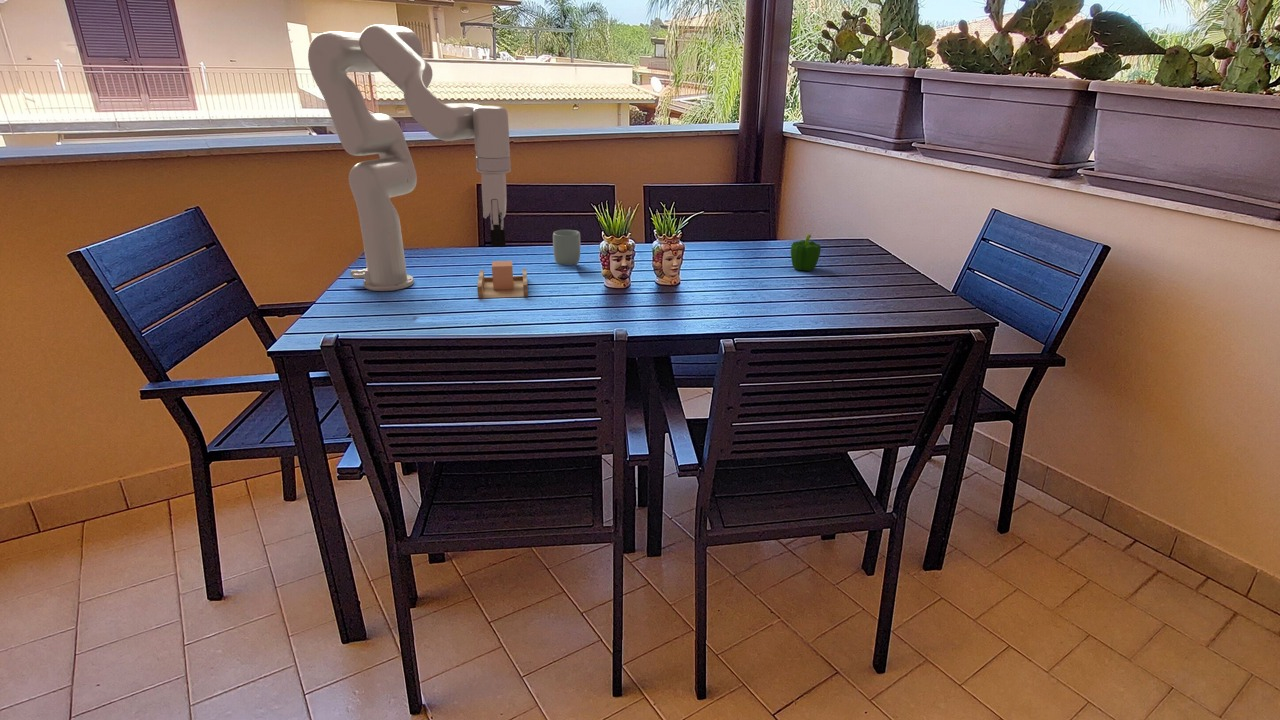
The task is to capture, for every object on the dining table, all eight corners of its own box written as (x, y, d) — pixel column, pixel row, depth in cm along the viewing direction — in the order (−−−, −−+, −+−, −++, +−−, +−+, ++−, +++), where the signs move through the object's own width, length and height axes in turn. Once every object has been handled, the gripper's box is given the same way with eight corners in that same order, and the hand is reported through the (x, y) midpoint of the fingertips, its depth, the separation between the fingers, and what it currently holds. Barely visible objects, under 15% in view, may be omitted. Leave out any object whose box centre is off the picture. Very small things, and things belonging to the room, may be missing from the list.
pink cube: (493, 289, 166) (491, 266, 164) (494, 283, 170) (492, 261, 168) (513, 288, 167) (512, 266, 164) (513, 283, 171) (512, 260, 169)
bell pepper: (806, 274, 188) (811, 240, 184) (783, 268, 194) (787, 235, 190) (823, 269, 193) (828, 236, 189) (800, 263, 199) (804, 231, 195)
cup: (576, 271, 188) (575, 236, 184) (550, 269, 189) (549, 234, 185) (583, 263, 195) (583, 230, 191) (558, 262, 196) (557, 228, 192)
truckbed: (481, 285, 173) (479, 269, 172) (527, 284, 175) (526, 268, 174) (478, 304, 160) (477, 286, 158) (528, 302, 162) (527, 285, 160)
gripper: (478, 160, 152) (484, 238, 160) (473, 169, 139) (480, 254, 146) (511, 160, 153) (515, 237, 161) (509, 169, 140) (514, 253, 148)
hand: (498, 245), depth 154 cm, fingers closed
